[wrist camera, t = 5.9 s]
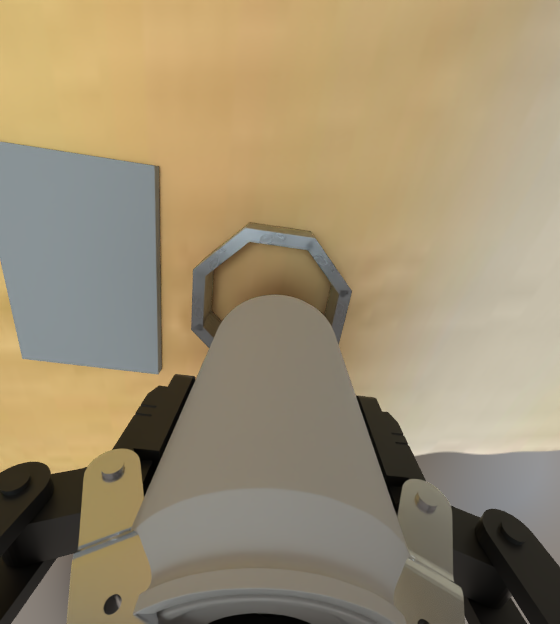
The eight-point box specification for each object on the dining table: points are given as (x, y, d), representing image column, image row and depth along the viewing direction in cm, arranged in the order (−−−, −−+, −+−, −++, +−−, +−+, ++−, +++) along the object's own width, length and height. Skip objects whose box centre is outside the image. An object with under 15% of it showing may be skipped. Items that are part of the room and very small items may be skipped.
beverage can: (338, 288, 15) (493, 583, 4) (330, 392, 18) (411, 746, 7) (211, 288, 15) (18, 580, 4) (222, 392, 18) (121, 742, 7)
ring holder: (352, 237, 22) (363, 245, 19) (323, 361, 26) (329, 382, 23) (205, 215, 21) (194, 220, 18) (199, 346, 25) (190, 366, 22)
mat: (159, 166, 20) (154, 165, 19) (161, 368, 26) (158, 374, 25) (-16, 139, 19) (-27, 137, 18) (30, 353, 25) (22, 358, 25)
